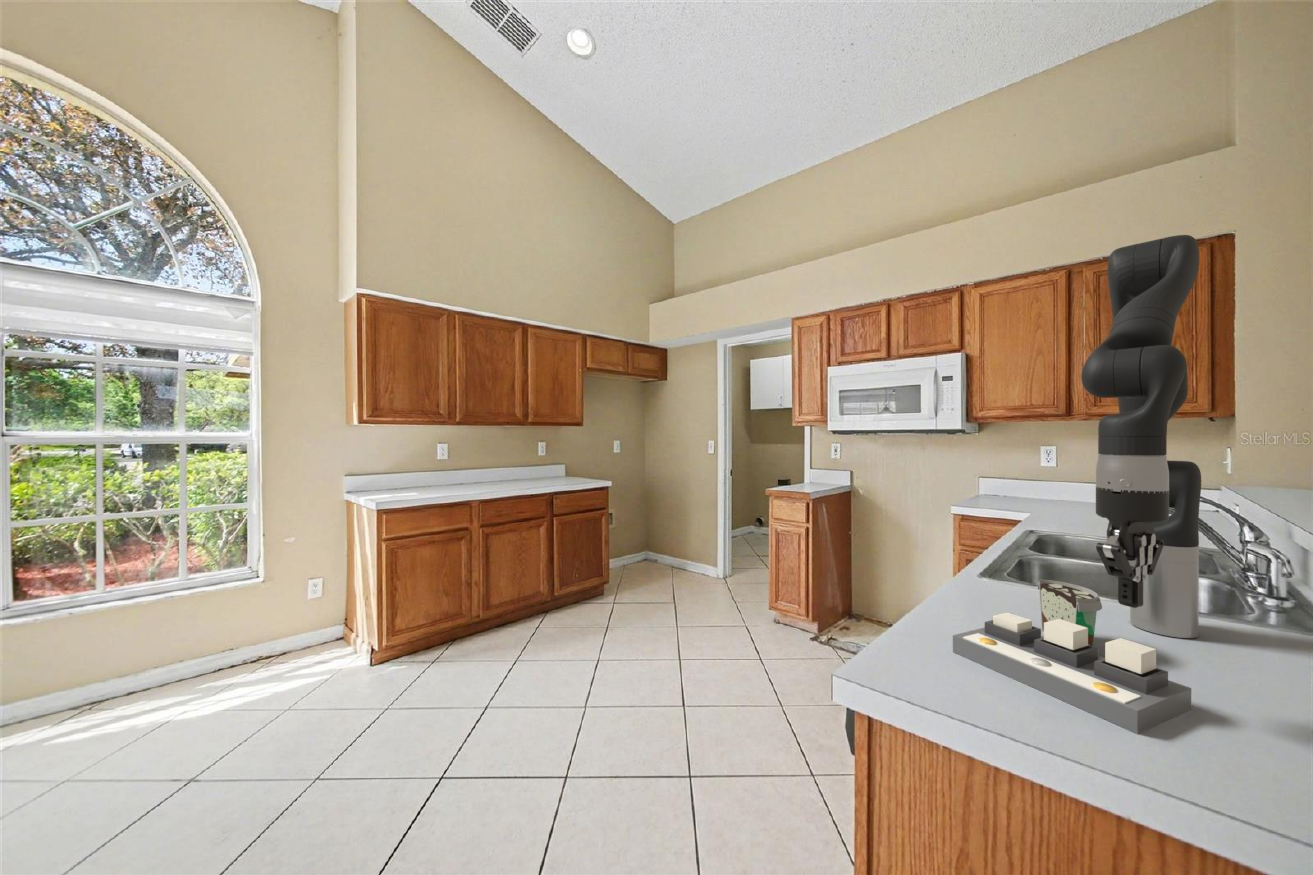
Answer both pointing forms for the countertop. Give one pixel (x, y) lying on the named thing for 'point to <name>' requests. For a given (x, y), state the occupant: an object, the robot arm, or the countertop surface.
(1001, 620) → the button left
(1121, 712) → the button board
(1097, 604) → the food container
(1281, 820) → the countertop surface
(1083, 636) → the button middle
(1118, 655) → the button right
